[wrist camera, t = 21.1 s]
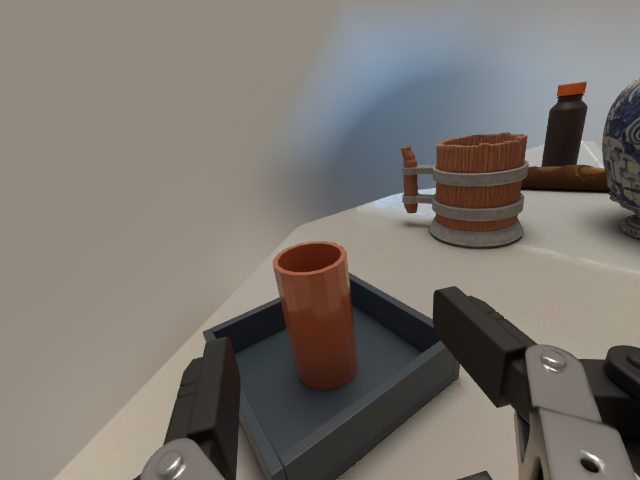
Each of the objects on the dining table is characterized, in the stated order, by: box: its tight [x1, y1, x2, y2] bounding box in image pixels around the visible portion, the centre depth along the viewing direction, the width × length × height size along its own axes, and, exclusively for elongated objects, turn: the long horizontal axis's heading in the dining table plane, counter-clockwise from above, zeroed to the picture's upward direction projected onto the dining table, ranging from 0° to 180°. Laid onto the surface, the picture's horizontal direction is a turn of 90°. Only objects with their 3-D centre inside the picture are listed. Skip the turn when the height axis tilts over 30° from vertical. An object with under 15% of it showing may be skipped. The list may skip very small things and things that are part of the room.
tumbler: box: [273, 241, 358, 391], centre depth 26 cm, size 6×6×11 cm
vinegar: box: [541, 82, 587, 167], centre depth 72 cm, size 7×7×20 cm
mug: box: [401, 133, 529, 248], centre depth 50 cm, size 14×19×15 cm
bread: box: [521, 165, 610, 191], centre depth 64 cm, size 38×5×5 cm, turn 53°
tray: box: [203, 273, 460, 480], centre depth 27 cm, size 17×16×4 cm
